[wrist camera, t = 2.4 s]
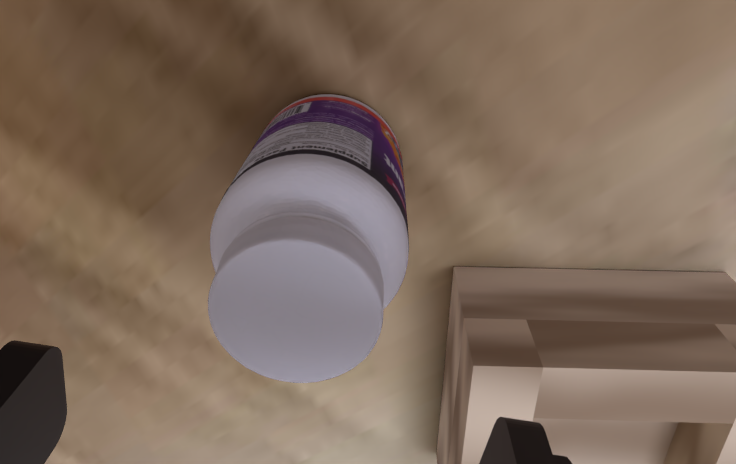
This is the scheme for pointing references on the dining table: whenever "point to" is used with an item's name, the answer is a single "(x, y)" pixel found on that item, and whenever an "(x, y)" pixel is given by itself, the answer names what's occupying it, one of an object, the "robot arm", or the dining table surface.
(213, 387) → the dining table surface
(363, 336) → the pill bottle
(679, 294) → the maple riser
